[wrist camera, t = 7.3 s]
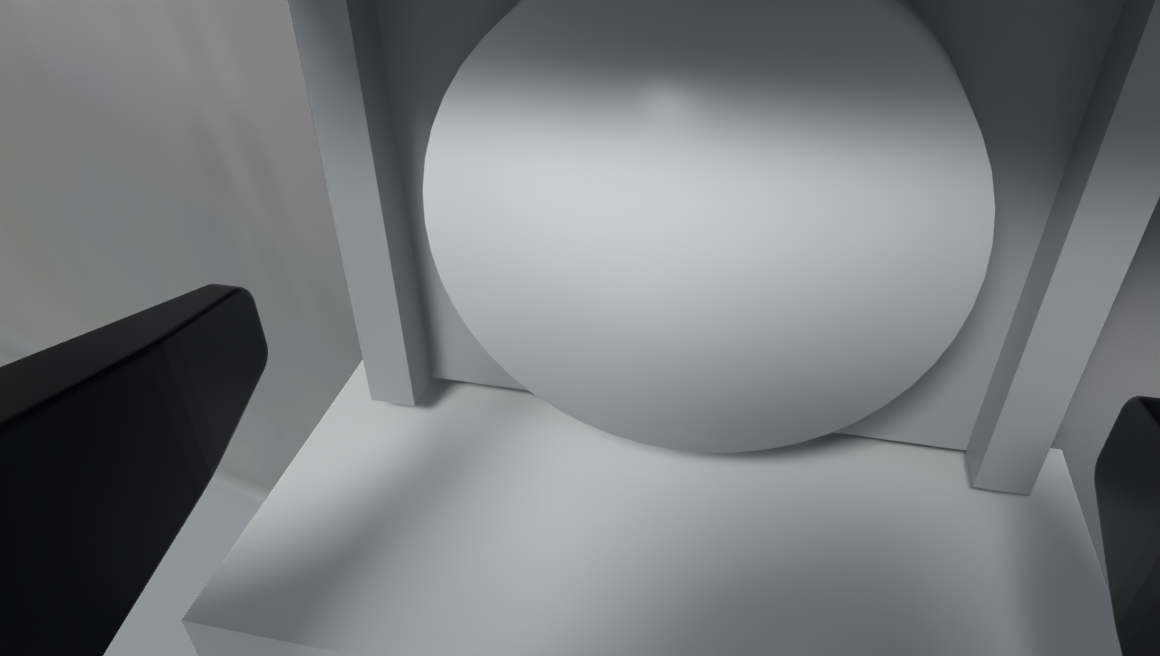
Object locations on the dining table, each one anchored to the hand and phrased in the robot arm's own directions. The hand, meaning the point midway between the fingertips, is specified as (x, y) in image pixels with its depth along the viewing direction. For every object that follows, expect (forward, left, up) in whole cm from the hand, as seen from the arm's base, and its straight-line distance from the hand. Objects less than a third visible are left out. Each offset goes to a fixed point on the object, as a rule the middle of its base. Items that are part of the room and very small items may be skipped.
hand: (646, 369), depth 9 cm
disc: (0, 0, -4) cm, 4 cm away
